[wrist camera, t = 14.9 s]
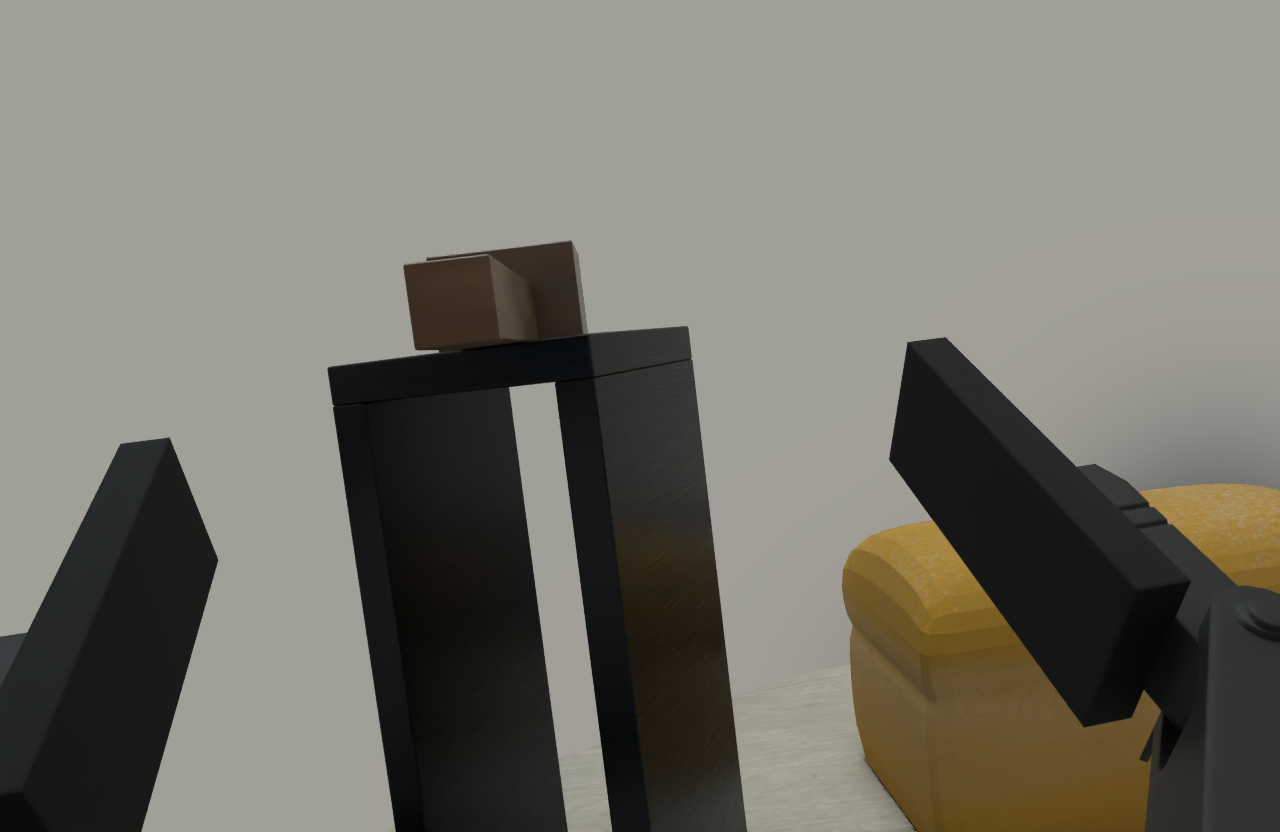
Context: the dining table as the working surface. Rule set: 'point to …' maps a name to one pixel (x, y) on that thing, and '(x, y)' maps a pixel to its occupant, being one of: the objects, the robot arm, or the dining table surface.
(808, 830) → the dining table surface
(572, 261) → the mallet
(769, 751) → the dining table surface
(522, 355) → the black arch block
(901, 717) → the bread
